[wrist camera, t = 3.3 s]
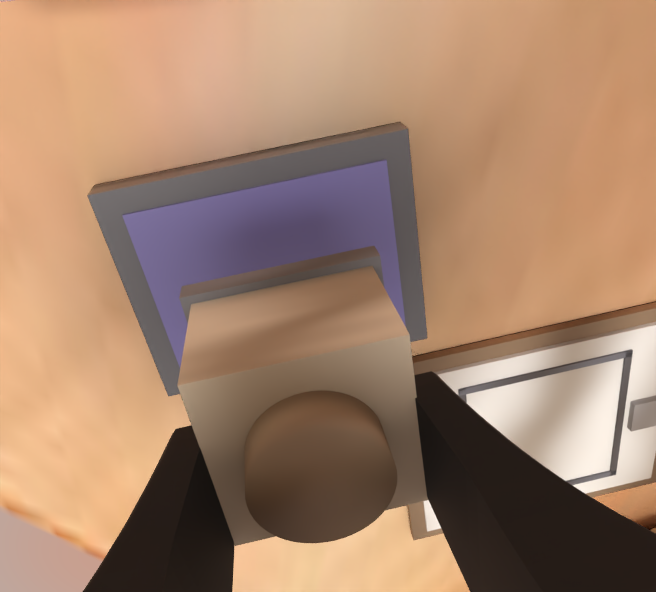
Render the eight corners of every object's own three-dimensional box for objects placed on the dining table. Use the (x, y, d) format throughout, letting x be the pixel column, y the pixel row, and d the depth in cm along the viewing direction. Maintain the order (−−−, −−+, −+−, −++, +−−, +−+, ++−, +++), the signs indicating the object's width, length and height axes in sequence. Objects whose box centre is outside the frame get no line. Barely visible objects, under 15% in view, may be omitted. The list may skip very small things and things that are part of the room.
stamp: (374, 245, 13) (438, 352, 9) (395, 399, 15) (455, 545, 11) (181, 286, 12) (153, 417, 8) (230, 436, 14) (226, 601, 10)
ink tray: (399, 121, 18) (408, 129, 17) (419, 324, 22) (428, 339, 21) (94, 184, 18) (86, 196, 17) (171, 379, 22) (168, 398, 21)
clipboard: (701, 291, 24) (717, 302, 23) (665, 472, 29) (677, 486, 28) (387, 362, 23) (392, 375, 22) (411, 533, 28) (416, 548, 28)
